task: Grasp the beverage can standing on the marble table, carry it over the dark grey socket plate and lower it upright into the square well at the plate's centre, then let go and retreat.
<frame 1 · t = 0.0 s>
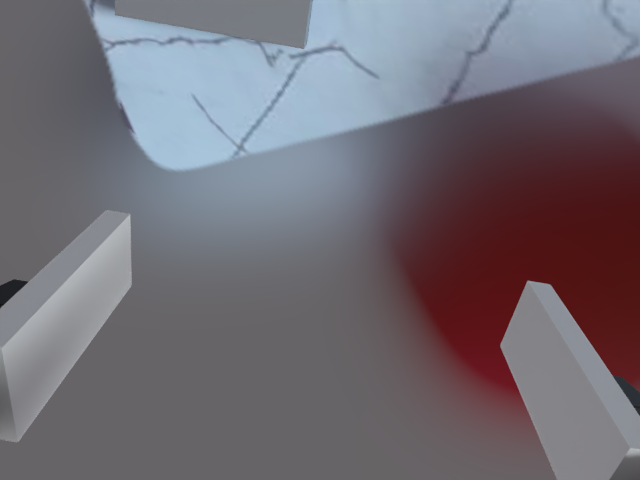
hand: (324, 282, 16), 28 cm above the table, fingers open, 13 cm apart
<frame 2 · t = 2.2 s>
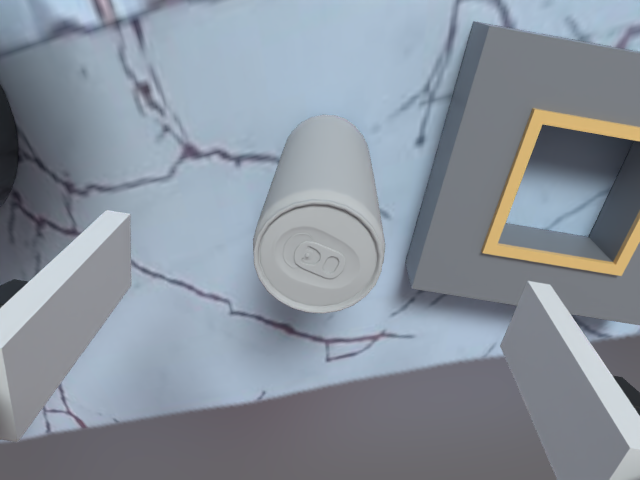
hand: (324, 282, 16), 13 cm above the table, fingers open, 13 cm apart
socket plate: (556, 176, 28), on the table
beverage can: (327, 153, 28), on the table
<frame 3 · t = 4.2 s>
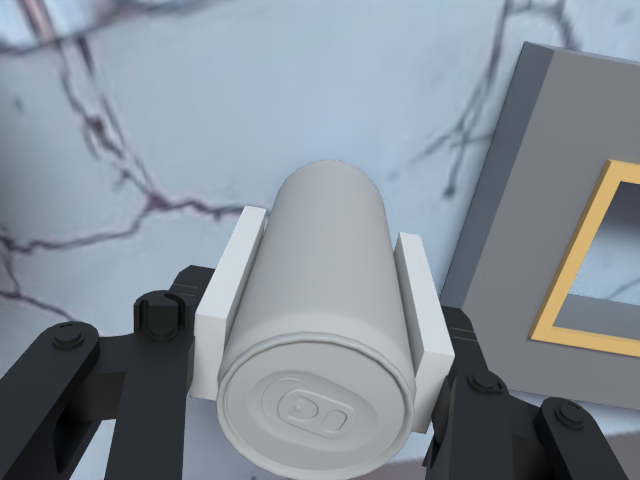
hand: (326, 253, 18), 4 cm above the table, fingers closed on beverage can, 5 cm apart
socket plate: (623, 236, 22), on the table
beverage can: (330, 206, 22), on the table, touching gripper
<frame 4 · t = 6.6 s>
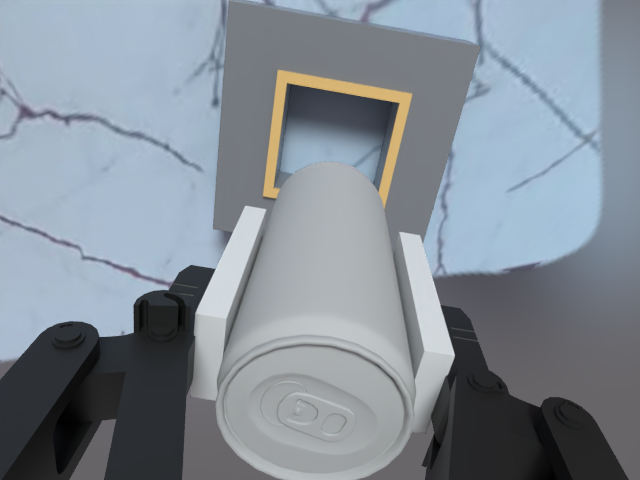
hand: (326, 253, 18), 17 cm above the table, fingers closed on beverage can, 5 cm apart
socket plate: (334, 133, 33), on the table
beverage can: (330, 207, 22), point 12 cm above the table, touching gripper
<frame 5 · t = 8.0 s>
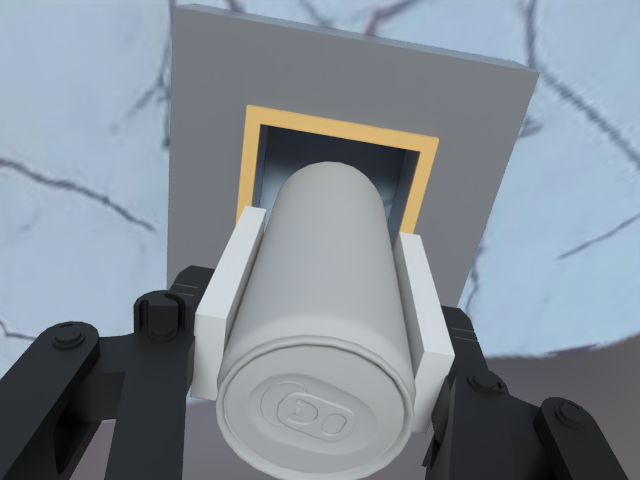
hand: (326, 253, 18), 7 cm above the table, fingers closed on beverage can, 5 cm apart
socket plate: (329, 184, 24), on the table
beverage can: (330, 207, 22), point 3 cm above the table, touching gripper
when the fingers open (5 cm above the table, at t = 9.2 s): beverage can stays where it is, resting in socket plate.
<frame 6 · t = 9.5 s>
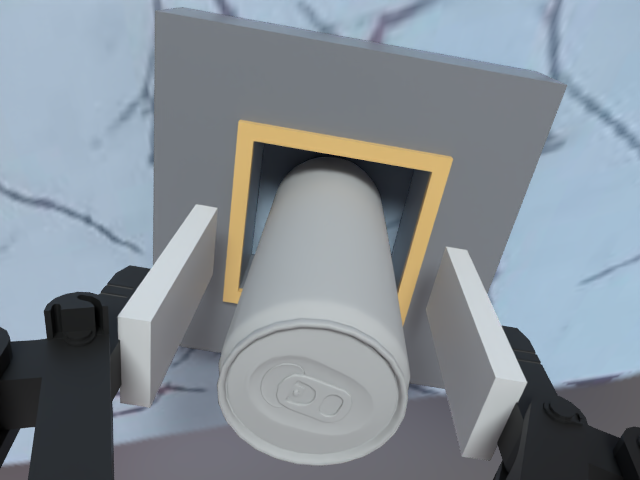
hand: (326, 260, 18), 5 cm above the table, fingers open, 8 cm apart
socket plate: (330, 203, 22), on the table
beverage can: (329, 202, 23), resting in socket plate
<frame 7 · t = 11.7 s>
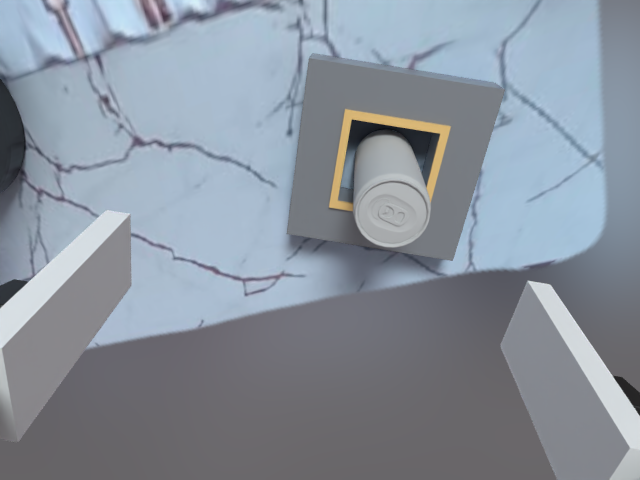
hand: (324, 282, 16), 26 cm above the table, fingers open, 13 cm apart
socket plate: (385, 156, 41), on the table
beverage can: (384, 155, 41), resting in socket plate
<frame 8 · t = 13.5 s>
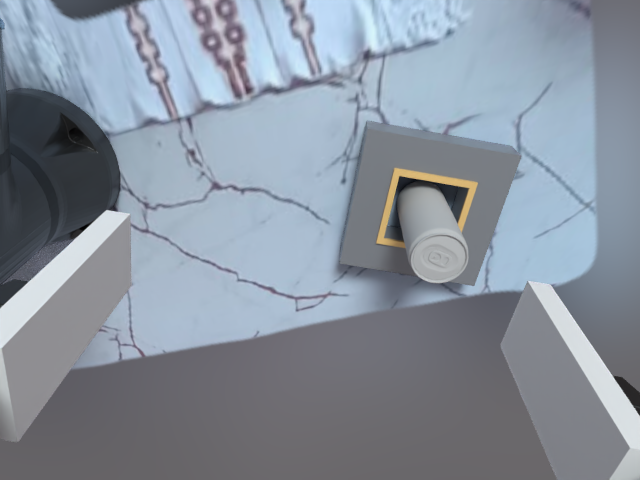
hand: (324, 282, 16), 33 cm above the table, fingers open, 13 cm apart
socket plate: (420, 200, 50), on the table
beverage can: (419, 200, 50), resting in socket plate
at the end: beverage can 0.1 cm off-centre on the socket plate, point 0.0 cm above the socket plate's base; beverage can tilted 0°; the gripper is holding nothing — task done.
